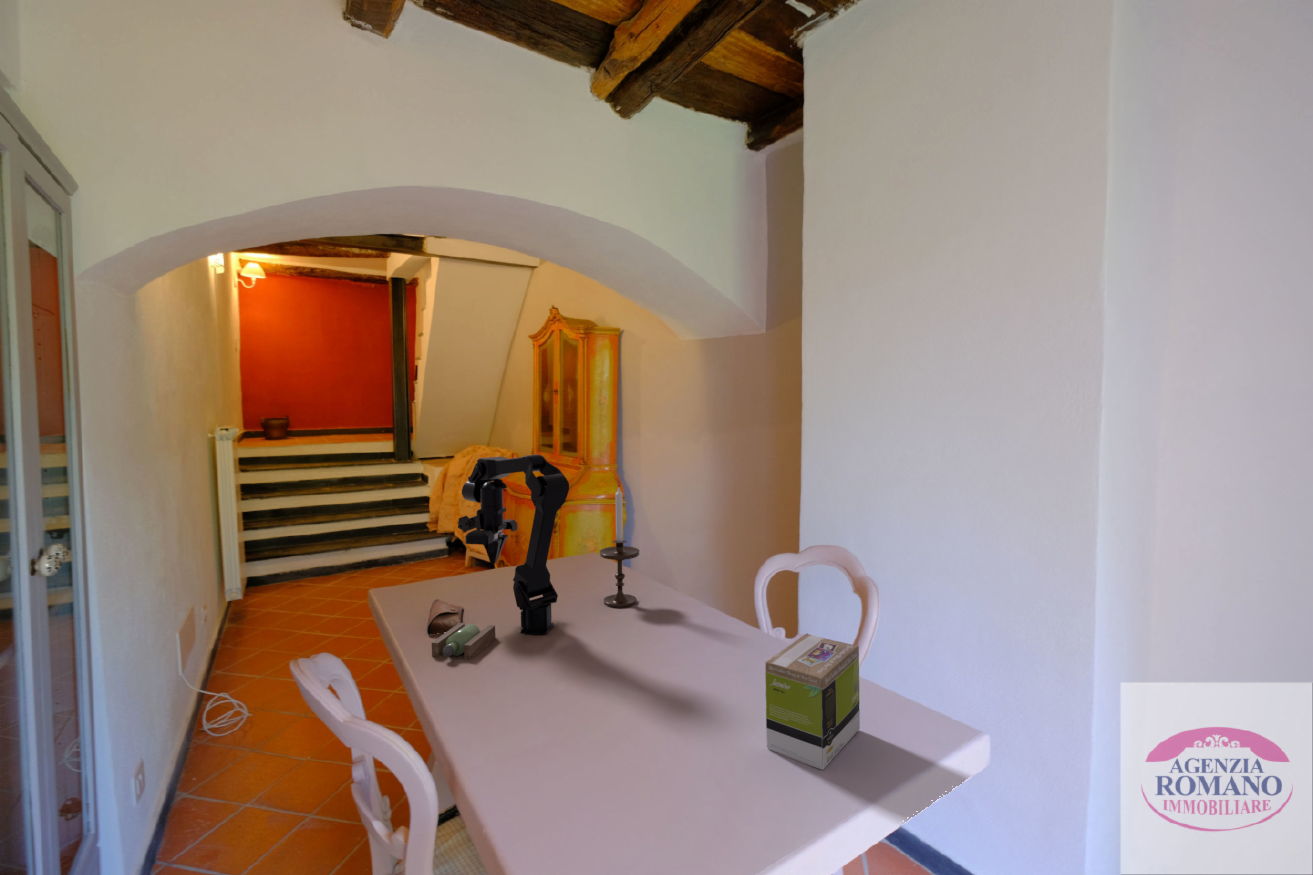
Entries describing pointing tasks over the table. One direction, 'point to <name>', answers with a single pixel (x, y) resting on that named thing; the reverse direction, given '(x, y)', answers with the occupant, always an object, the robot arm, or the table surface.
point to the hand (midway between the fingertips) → (493, 563)
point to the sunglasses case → (443, 617)
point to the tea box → (812, 699)
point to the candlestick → (619, 559)
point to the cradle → (471, 646)
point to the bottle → (460, 640)
